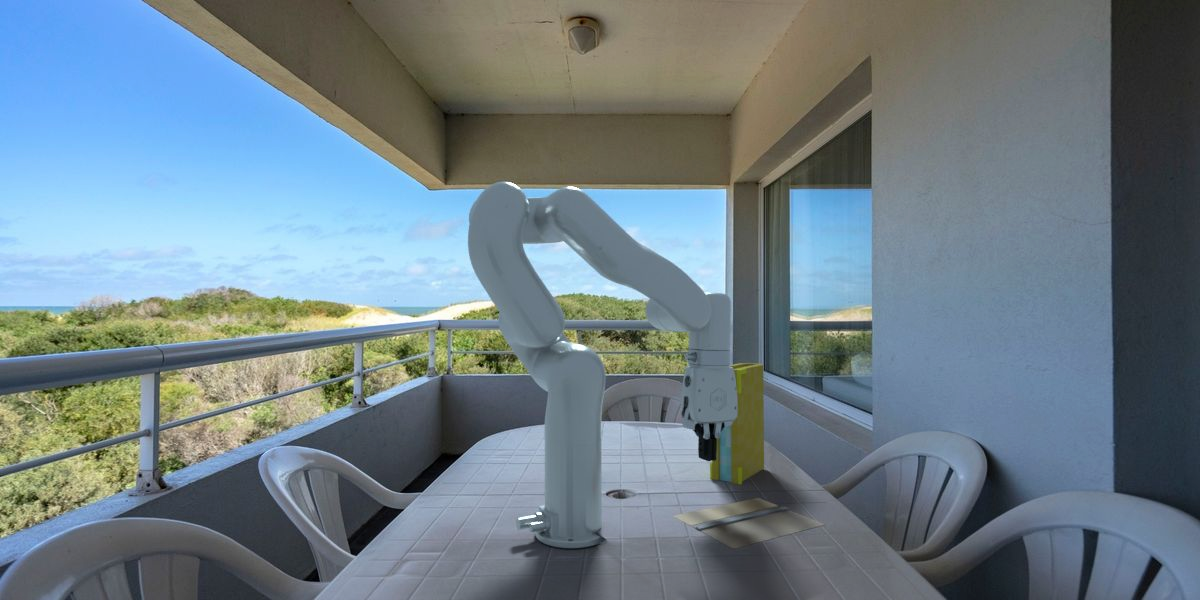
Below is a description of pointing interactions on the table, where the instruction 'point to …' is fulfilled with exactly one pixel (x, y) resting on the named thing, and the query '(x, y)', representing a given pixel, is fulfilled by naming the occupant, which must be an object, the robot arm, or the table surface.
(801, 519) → the laid plank
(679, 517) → the board
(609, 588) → the table surface
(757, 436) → the book
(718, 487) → the table surface
